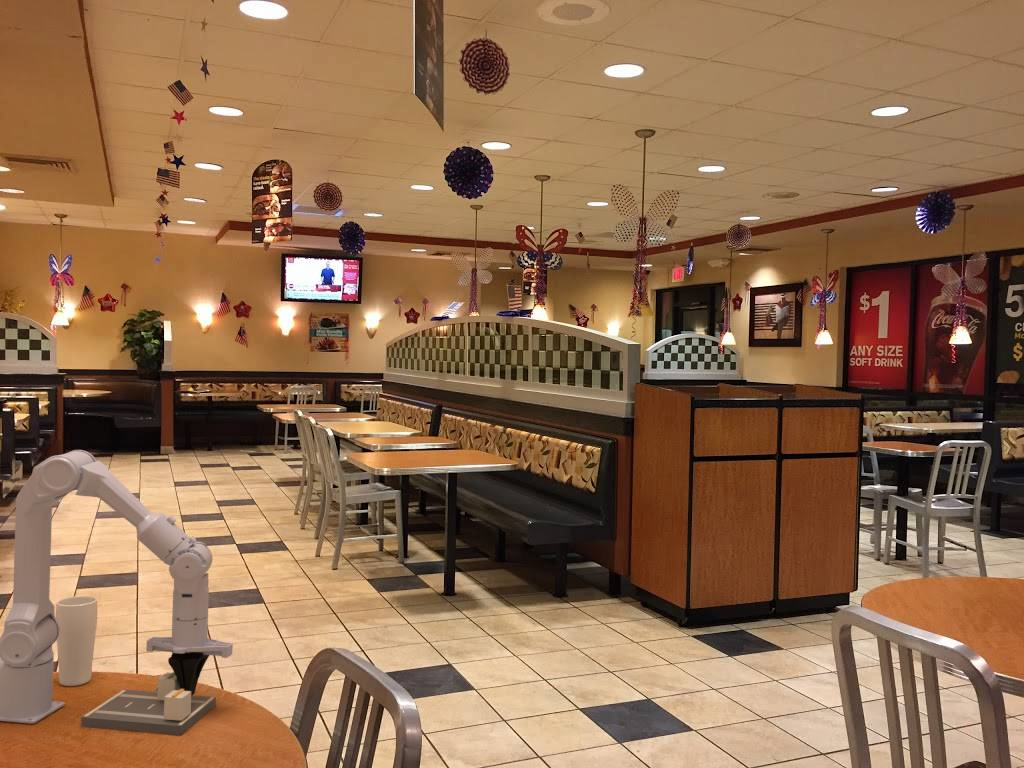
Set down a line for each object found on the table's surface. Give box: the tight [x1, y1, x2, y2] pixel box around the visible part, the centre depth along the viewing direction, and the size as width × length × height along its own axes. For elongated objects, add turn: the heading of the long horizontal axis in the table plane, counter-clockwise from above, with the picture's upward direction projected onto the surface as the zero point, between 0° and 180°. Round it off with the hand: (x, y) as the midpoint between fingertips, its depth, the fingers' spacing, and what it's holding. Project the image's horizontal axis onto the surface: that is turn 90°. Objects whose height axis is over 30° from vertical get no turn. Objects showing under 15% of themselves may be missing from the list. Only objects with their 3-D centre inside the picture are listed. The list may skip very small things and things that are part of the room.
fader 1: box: [157, 671, 180, 700], centre depth 146 cm, size 3×3×4 cm
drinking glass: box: [55, 595, 98, 687], centre depth 156 cm, size 7×7×15 cm
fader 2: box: [164, 689, 191, 721], centre depth 138 cm, size 3×3×4 cm
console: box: [80, 689, 217, 736], centre depth 142 cm, size 17×12×2 cm
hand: (188, 695), depth 145 cm, fingers closed
